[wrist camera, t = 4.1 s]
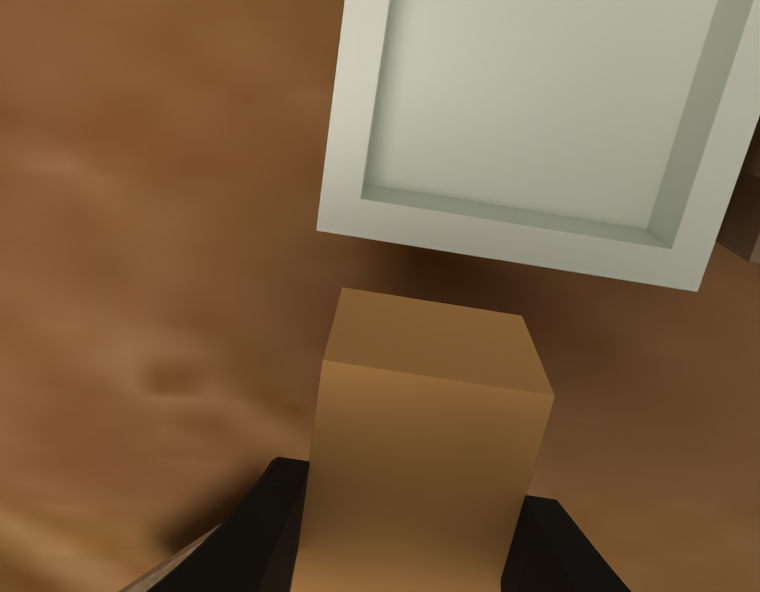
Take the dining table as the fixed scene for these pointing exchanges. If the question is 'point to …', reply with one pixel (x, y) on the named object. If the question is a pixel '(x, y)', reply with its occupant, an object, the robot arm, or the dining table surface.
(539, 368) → the block
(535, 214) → the tray
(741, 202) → the socket block
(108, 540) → the dining table surface
